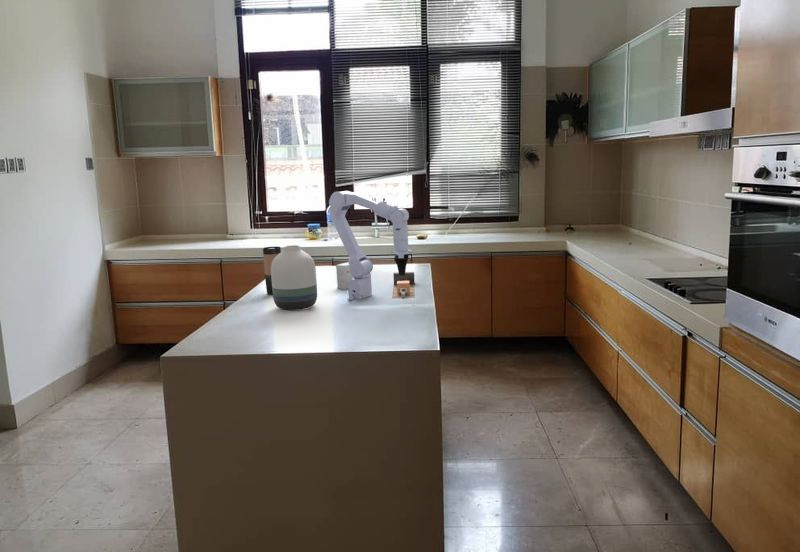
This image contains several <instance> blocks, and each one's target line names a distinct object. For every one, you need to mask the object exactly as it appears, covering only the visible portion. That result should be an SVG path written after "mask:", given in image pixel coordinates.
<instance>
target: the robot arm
mask: <svg viewBox="0 0 800 552" xmlns="http://www.w3.org/2000/svg"><path fill="white" fill-rule="evenodd" d="M328 204H329V210H330V211H329V213H330V214H329V215H330V219H331V221H332V223H333V225H334V228H335V229H336V232H337V234H338V236H339V238H340V240H341V243H342V245H343V246H344V249H345V251H346V253H347V256H348V261H347V262H348V263H349V265H350V272H351V274H352V275H353V279H352V280H350V281H349V283H348V289H347V290H348V297H347V300H348V301H353V300H354V299H358V300H359V299H360V300H361V299H364V298H368V297H371V296H372V295H373V289H372V287H373V286H372V271H373V270H374V265H373V262H372V261H371V260H370V259H369V258H368V256H367V255H366V254H365V253H364V252H363V251H362V249H361V247H360V246H359V245H360V244H359V243H358V241H357V239H356V237H355V235H354V233H353V230H352V228H351V226H350V224H349V222H348V220H347V218H346V214H347V212H348V209H350V208H351V206H352V205H358V206H361V207H363V208H366V209H368V210H371V211H374V214H375V215H377V216H378V217H381V218H384V219H386V220H388V221H390V222H391V223H392V235H393V237H392V240H393V241H392V242H393V254H394V257H393V260H394V262H395V263H396V267H397V271H398V272H399V275H405V272H406V269H407V263H408V260H409V256H410V254H409V253H412V249H409V233H408V232H409V231H408V229H409V227H408V220H409V218H410V214H409V213H410V212H409V211H408V210H407V209H406V208H404V207H399V206H398V205H396V204H395V205H393V204H390V203H388V201H386V200H380V201H377V202H376V201H374V200H372V199H370V198H368V197H365V196H363V195H361V194H358V193H356V192H354V191H350V190H343V191H334V192H333V193H332V194H331V195H330V198H329V200H328ZM398 207H399V208H398ZM398 272H397V273H398Z"/></svg>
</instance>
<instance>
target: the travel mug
mask: <svg viewBox="0 0 800 552" xmlns="http://www.w3.org/2000/svg"><path fill="white" fill-rule="evenodd" d="M281 249H282V248H281V246H266V247H264V248H263V249H262V253H263V254H262V255H263V269H264V278H265V279H264V280H265V288H266V294H267V295H269V296H273V290H272V278H271V265H272V261H273V260H274V258H275V257H276V256H277V255H278V254H280V253H281V252H282V251H281Z"/></svg>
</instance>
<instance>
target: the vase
mask: <svg viewBox="0 0 800 552" xmlns="http://www.w3.org/2000/svg"><path fill="white" fill-rule="evenodd" d="M271 278H272V290H273V295H272V298H273V302H274V304H275V305H276V307H277V308H278V309H280V310H283V311H300V310H306V309H309V308H311V307H314V305H315V304H316V302H317V299H318V285H317V283H318V282H317V268H316V264H315V260H314V259H313V257H312V256H311V255H310V254H308V253H307V252H305V251H304V250H303V249H302V248H301V245H295V244H293V245H285V246H283V247H282V251H281V253H280V254H278V255H277V256H276V257H275V258H274V260H273V261H272V265H271Z"/></svg>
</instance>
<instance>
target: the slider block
mask: <svg viewBox="0 0 800 552" xmlns="http://www.w3.org/2000/svg"><path fill="white" fill-rule="evenodd" d="M402 288H407V294H410V285H409V281H397V295H398V294H400V289H402Z"/></svg>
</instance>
